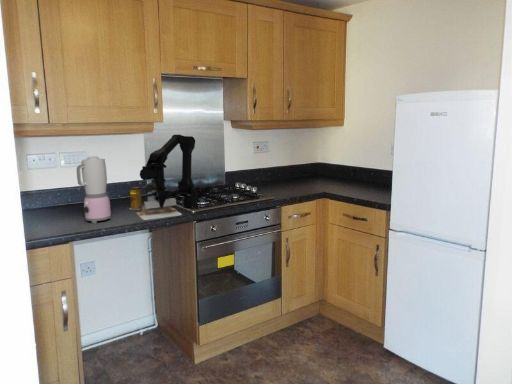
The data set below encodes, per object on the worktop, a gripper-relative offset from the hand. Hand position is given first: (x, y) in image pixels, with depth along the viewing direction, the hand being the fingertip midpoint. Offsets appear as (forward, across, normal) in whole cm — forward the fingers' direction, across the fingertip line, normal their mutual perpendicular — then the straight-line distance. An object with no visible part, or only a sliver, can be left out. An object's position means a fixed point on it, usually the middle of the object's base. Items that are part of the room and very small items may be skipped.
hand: (160, 207), depth 221 cm
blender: (+5, -8, -31) cm, 32 cm away
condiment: (+5, -25, -6) cm, 27 cm away
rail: (0, 0, 0) cm, 0 cm away
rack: (+5, -7, 0) cm, 9 cm away
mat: (+5, 0, 0) cm, 5 cm away
